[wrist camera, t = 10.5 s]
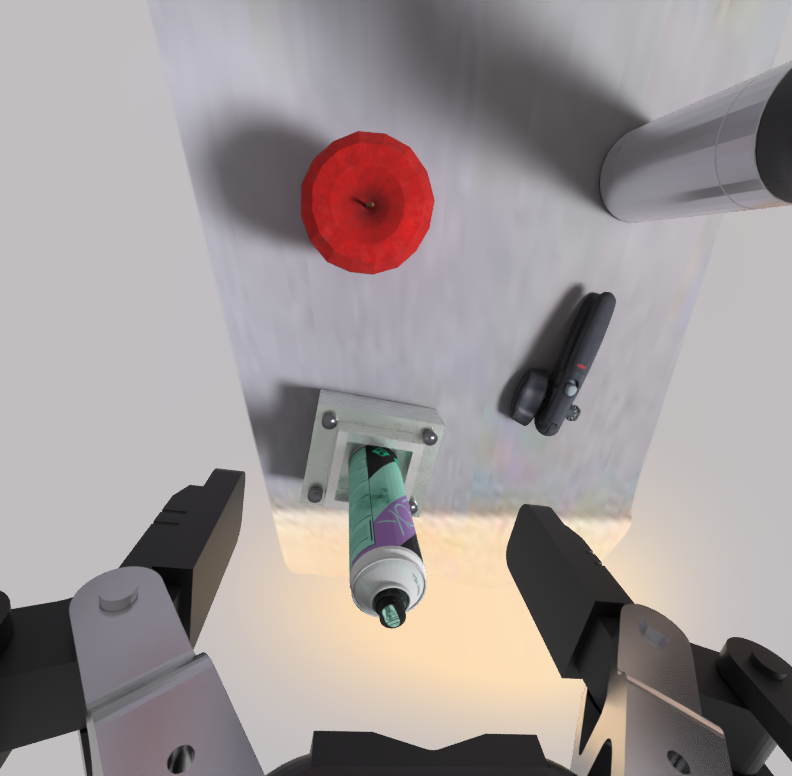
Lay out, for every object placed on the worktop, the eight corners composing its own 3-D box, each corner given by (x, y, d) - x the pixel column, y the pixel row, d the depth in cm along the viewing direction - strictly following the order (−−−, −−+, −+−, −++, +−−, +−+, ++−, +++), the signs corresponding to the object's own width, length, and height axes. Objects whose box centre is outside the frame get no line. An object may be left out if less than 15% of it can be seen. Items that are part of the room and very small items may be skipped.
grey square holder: (435, 409, 49) (450, 435, 42) (412, 493, 52) (422, 531, 45) (320, 388, 46) (316, 413, 39) (304, 478, 50) (297, 516, 42)
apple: (396, 147, 39) (421, 95, 26) (424, 252, 43) (458, 251, 30) (294, 179, 39) (269, 144, 26) (330, 282, 43) (324, 295, 30)
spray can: (377, 492, 46) (399, 662, 27) (338, 468, 44) (332, 630, 25) (407, 458, 45) (452, 608, 26) (368, 431, 43) (386, 571, 24)
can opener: (544, 430, 52) (567, 450, 47) (499, 411, 50) (517, 430, 45) (620, 304, 47) (654, 310, 42) (573, 278, 46) (603, 282, 41)
